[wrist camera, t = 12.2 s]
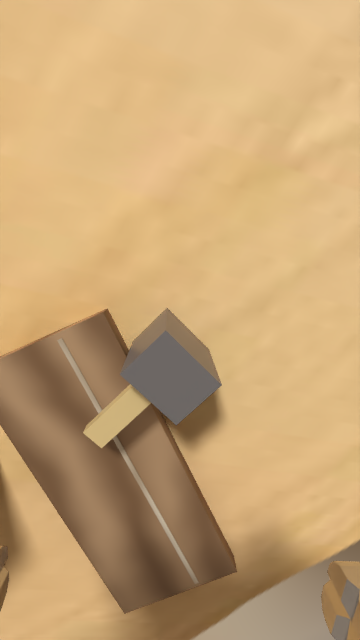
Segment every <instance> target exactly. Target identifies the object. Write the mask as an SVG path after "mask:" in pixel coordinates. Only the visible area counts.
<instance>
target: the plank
mask: <svg viewBox="0 0 360 640" xmlns="http://www.w3.org/2000/svg"><path fill="white" fill-rule="evenodd" d="M128 353H129V350H128V348H127V346H126V344H125V342H124V340H123V338H122V336H121V334H120V332H119V330H118V328H117V326H116V324H115V322H114V320H113V318H112V316H111V314H110V313H109V311H108V309H105V310H103V311H101V312H98V313H96V314H94V315H92V316H90V317H87V318H85V319H83V320H81V321H78V322H76V323H74V324H72V325H70V326H67V327H65V328H63V329H61V330H58V331H56V332H54V333H52V334H49V335H47V336H45V337H43V338H41V339H38V340H36V341H34V342H32V343H29V344H27V345H25V346H23V347H20V348H18V349H16V350H14V351H12V352H9V353H7V354H5V355H3V356H0V425H1V427H2V428H3V430H4V431H5V433H6V434H7V436H8V437H9V439H10V440H11V442H12V443H13V445H14V446H15V448H16V449H17V451H18V452H19V454H20V455H21V457H22V459H23V460H24V462H25V463H26V465H27V466H28V468H29V469H30V471H31V472H32V474H33V475H34V477H35V478H36V480H37V481H38V483H39V484H40V486H41V487H42V489H43V490H44V492H45V493H46V495H47V497H48V498H49V500H50V501H51V503H52V504H53V506H54V507H55V509H56V510H57V512H58V513H59V515H60V516H61V518H62V519H63V521H64V522H65V524H66V525H67V527H68V528H69V530H70V531H71V533H72V534H73V536H74V538H75V539H76V541H77V542H78V544H79V545H80V547H81V548H82V550H83V551H84V553H85V554H86V556H87V557H88V559H89V560H90V562H91V563H92V565H93V566H94V568H95V569H96V571H97V572H98V574H99V576H100V577H101V579H102V580H103V582H104V583H105V585H106V586H107V588H108V589H109V591H110V592H111V594H112V595H113V597H114V598H115V600H116V601H117V603H118V604H119V606H120V607H121V609H122V610H123V612H124V614H125V613H128V612H130V611H133V610H136V609H138V608H141V607H144V606H146V605H149V604H152V603H154V602H157V601H160V600H163V599H165V598H168V597H171V596H173V595H176V594H179V593H181V592H184V591H187V590H189V589H192V588H195V587H197V586H200V585H203V584H205V583H208V582H211V581H213V580H216V579H219V578H221V577H224V576H227V575H229V574H232V573H235V572H237V570H236V565H235V560H234V555H233V553H232V552H231V550H230V548H229V546H228V544H227V542H226V540H225V538H224V536H223V534H222V532H221V530H220V528H219V526H218V524H217V522H216V520H215V518H214V516H213V514H212V512H211V510H210V508H209V506H208V505H207V503H206V501H205V499H204V497H203V495H202V493H201V491H200V489H199V487H198V485H197V483H196V481H195V479H194V477H193V475H192V473H191V471H190V469H189V467H188V465H187V463H186V461H185V459H184V457H183V456H182V454H181V452H180V450H179V448H178V446H177V444H176V442H175V440H174V438H173V436H172V434H171V432H170V430H169V428H168V426H167V424H166V422H165V420H164V418H163V416H162V414H161V412H160V410H159V409H158V408H156V407H155V406H154V405H153V404H152V403H151V404H150V405H148V406H147V407H146V408H145V409H144V410H143V411H142V412H141V413H140V414H139V415H138V416H136V417H135V418H134V419H133V420H132V421H131V422H130V423H129V424H128V425H127V426H126V427H124V428H123V429H122V430H121V431H120V432H119V433H118V434H117V435H116V436H115V437H114V438H112V439H111V440H110V441H109V442H108V443H107V444H106V445H105V446H104V447H103V448H101V447H99V446H98V445H97V444H96V443H94V442H93V441H92V440H91V439H90V438H88V437H87V436H86V435H85V434H84V433H83V432H84V430H85V428H86V426H87V424H88V423H89V422H91V421H92V420H93V419H94V418H95V417H96V416H97V415H98V414H99V413H100V412H101V411H102V410H103V409H104V408H105V407H106V406H108V405H109V404H110V403H111V402H112V401H113V400H114V399H115V398H116V397H117V396H118V395H119V394H120V393H121V392H122V391H123V390H124V389H126V388H127V387H128V386H129V385H130V383H129V382H128V381H126V380H125V379H124V378H123V377H122V376H121V375H120V372H121V370H122V367H123V365H124V362H125V360H126V358H127V355H128Z"/></svg>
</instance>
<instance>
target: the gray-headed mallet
mask: <svg viewBox="0 0 360 640" xmlns="http://www.w3.org/2000/svg"><path fill="white" fill-rule="evenodd" d="M120 375H121V376H122V377H123V378H124V379H125V380H126V381H128V382H129V383H130V385H129V386H128V387H127V388H126V389H124V390H123V391H122V392H121V393H120V394H119V395H118V396H117V397H116V398H115V399H114V400H113V401H112V402H111V403H110V404H109V405H108V406H106V407H105V408H104V409H103V410H102V411H101V412H100V413H99V414H98V415H97V416H96V417H95V418H94V419H93V420H92V421H91V422H89V423H88V424H87V426H86V428H85V430H84V432H83V433H84V434H85V435H86V436H87V437H88V438H90V439H91V440H92V441H93V442H94V443H96V444H97V445H98V446H99V447H101V448H103V447H104V446H105V445H106V444H107V443H108V442H109V441H110V440H111V439H112V438H114V437H115V436H116V435H117V434H118V433H119V432H120V431H121V430H122V429H123V428H124V427H126V426H127V425H128V424H129V423H130V422H131V421H132V420H133V419H134V418H135V417H136V416H138V415H139V414H140V413H141V412H142V411H143V410H144V409H145V408H146V407H147V406H148V405H150V404H151V403H152V404H153V405H154V406H155V407H156V408H158V409H159V410H160V411H161V412H162V413H163V414H164V415H165V416H166V417H168V418H169V419H170V420H171V421H172V422H173V423H174V424H175V425H177V424H178V423H180V422H181V421H182V420H183V419H184V418H185V417H186V416H187V415H189V414H190V413H191V412H192V411H193V410H194V409H195V408H196V407H198V406H199V405H200V404H201V403H202V402H203V401H204V400H205V399H207V398H208V397H209V396H210V395H211V394H212V393H213V392H214V391H216V390H217V389H218V388H219V387H220V386H221V385H222V384H221V381H220V379H219V376H218V373H217V371H216V368H215V365H214V362H213V360H212V357H211V354H210V351H209V349H208V348H207V347H206V346H205V345H204V344H203V343H202V342H201V341H200V340H199V339H198V338H197V337H196V336H195V335H194V334H193V333H192V332H191V331H190V330H189V329H188V328H187V327H186V326H185V325H184V324H183V323H182V322H181V321H180V320H179V319H178V318H177V317H176V316H175V315H174V314H173V313H172V312H171V311H170V310H169V309H168V308H167V309H166V310H165V311H164V312H162V313H161V314H160V315H159V316H158V317H157V318H156V319H155V320H154V321H153V322H152V323H151V324H150V325H149V326H148V327H147V328H146V329H145V330H144V331H143V332H142V333H141V334H140V335H139V336H138V337H137V338H136V339H135V340H134V341H133V343H132V345H131V348H130V350H129V353H128V355H127V358H126V360H125V362H124V365H123V367H122V370H121V372H120Z"/></svg>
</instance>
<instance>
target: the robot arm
mask: <svg viewBox="0 0 360 640" xmlns="http://www.w3.org/2000/svg"><path fill="white" fill-rule="evenodd" d="M7 559H8V549H7V546H0V611H1V608H2V606H3V602H4V599H5V596H6V593H7V588H8V581H9V572H8V571H7V570H6V568H5V567H4V565H5V563H6V561H7ZM327 573H328V575H329V577H330V579H331V580H330V581H329V582H327V583H326V584H325V585H324V586H323V591H322V596H321V598H322V608H323V613H324V617H325V621H326V623H327V626H328V628H329V631H330V633H331V635H332V636H333V637H334V638H335V639H336V640H360V562H347V561H333V562H332V563H330V565H329V568H328V571H327Z"/></svg>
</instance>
